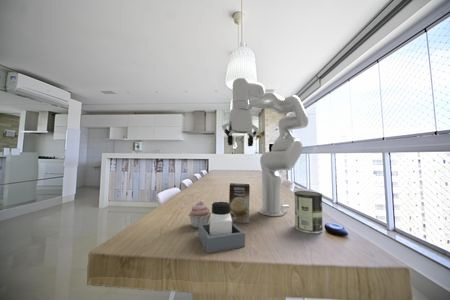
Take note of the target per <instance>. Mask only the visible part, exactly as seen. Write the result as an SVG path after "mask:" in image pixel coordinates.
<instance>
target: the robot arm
mask: <svg viewBox="0 0 450 300" xmlns="http://www.w3.org/2000/svg"><path fill="white" fill-rule="evenodd" d="M252 108H254V109H255V108H256V109H264V110H265V109H267V110H268V111H271V112H274V113H277V114H279V115H284V114H289V113H294V114H289V115H285V116H282V117H281V118H280V119H279V120H278V130H279V135H278V137H277V138H276V140H274V142H273V144H272V146H271V151H266V152H263V153H262V154H261V155H260V159H259V162H260V167H261V178H262V179H261V188H262V189H261V208H259V210H258V213H259V214H261V215H264V216H268V217H282V216H284V215H285V210H284V209H289V208H290V207H289V204H283V203H282V177H281V175H280V173H279V171H287V172H288V171H291V170H293V168H295V165H296V163H297V162H298V160H299V158H300V157H301V155H302V152H303V144H302V141H301V140H300V139H299V138H296V137H294V135H293V133H292V132H291V130H299V129H304V128H307V127H308V124H309V117H308V115H307V113H306V110H305V107H304V105H303V103H302V101H301V99H300V98H299V97H298V96H297V95H291V96H286V97H282V96H281V95H278V94H276V93H275V92H266V89H265V86H264V85H263V84H262V83H260V82H257V81H252V80H248V79H247V78H246V77H239V78H236V79H234V80H233V82H232V109H230V112H229V117H228V122H227V123H224V124H222V125H221V127H222V130H223V132H224V133H225V134H226V137H227V144H228V146H233V144H234V143H233V140H234V136H233V134H246V135H247V136H248V137H247V146H248V147H253V145H254V137H255V136H256V135H257V132H258V131H259V127H257V126H256V125H254V124H253V116H252V111H251V110H252ZM227 127H228V128H227Z"/></svg>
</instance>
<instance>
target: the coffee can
mask: <svg viewBox="0 0 450 300" xmlns="http://www.w3.org/2000/svg"><path fill="white" fill-rule="evenodd" d="M293 194H294V228H295V229H296V231H297V230H298V231H300V232H302V233H306V234H316V235H317V234H321V233H323V232H324V230H323V229H324V228H323V227H324V226H323V225H324V224H323V194H322V193H320V192H318V191H317V192H316V191H306V190H297V191H293Z"/></svg>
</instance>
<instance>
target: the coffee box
mask: <svg viewBox="0 0 450 300" xmlns="http://www.w3.org/2000/svg"><path fill="white" fill-rule="evenodd" d="M250 188H251V187H250V183H235V182H233V183H229V189H228V190H229V192H228V194H229V195H228V196H229V197H228V203H229V204H230V215H231V218H232V223H238V224H239V223H240V224H241V223H242V224H249V223H250V192H251V191H250Z"/></svg>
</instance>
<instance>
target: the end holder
mask: <svg viewBox="0 0 450 300" xmlns="http://www.w3.org/2000/svg"><path fill="white" fill-rule="evenodd" d="M197 229H198V231H197V232H198V233H197V234H198V235H197V236H198V239H199V240H200V242H201V244H202V246H203V248H204V249H205V251H206V253H207V254H211V253H216V252H222V251H227V250H234V249H239V248H245V247H246V232H244V231H243V230H242V229H241V228H239V227H238V226H237V225H236V224H235V223H234V222H232V234H225V235H218V236H211V237H210V222H208V224H200V225H199V227H198V228H197Z"/></svg>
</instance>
